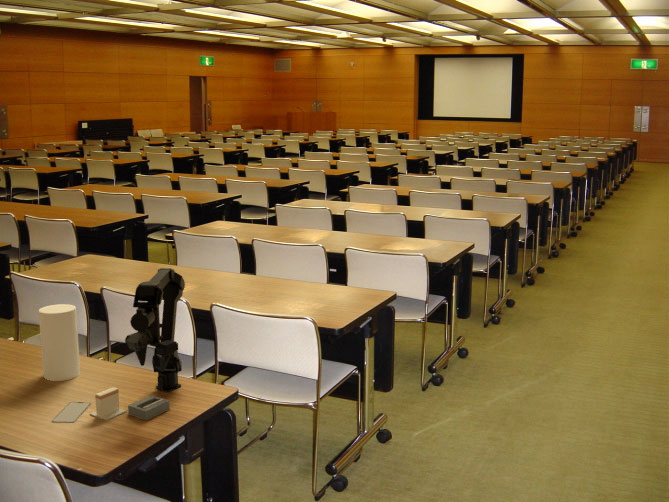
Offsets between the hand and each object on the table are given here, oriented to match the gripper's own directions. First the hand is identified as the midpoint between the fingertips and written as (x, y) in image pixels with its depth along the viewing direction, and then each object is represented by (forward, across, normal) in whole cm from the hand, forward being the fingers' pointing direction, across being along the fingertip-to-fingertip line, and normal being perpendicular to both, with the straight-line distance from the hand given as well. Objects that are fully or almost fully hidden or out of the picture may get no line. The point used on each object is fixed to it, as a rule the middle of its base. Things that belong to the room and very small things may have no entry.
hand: (152, 368), depth 227 cm
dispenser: (+13, +2, -4) cm, 14 cm away
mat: (+13, -8, -12) cm, 19 cm away
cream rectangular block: (+13, -8, -12) cm, 19 cm away
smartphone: (+14, -18, -18) cm, 29 cm away
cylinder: (+13, -49, +1) cm, 51 cm away
